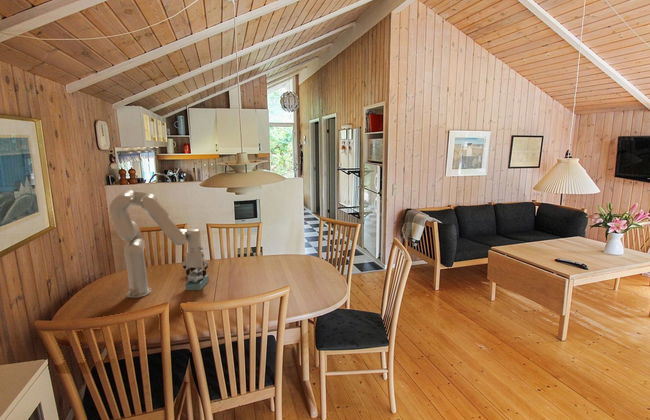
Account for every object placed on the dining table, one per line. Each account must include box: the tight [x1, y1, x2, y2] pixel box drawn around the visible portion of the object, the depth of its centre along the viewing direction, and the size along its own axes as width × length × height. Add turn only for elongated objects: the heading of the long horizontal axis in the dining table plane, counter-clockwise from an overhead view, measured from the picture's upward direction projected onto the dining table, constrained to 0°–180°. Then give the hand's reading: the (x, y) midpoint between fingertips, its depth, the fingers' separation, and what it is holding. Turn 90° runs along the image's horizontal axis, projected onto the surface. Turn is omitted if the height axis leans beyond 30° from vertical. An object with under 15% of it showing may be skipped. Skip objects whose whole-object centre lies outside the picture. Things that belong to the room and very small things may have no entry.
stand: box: [184, 274, 210, 291], centre depth 221 cm, size 14×9×4 cm, turn 178°
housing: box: [187, 268, 206, 283], centre depth 220 cm, size 6×9×6 cm, turn 163°
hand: (196, 275), depth 220 cm, fingers open, 9 cm apart
